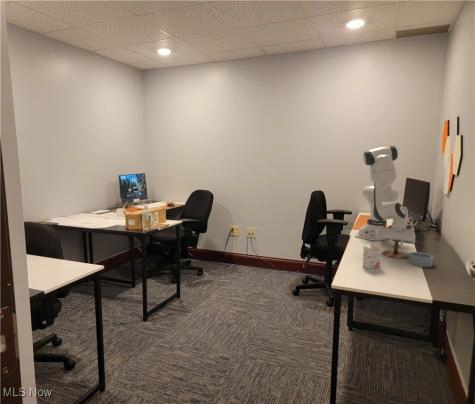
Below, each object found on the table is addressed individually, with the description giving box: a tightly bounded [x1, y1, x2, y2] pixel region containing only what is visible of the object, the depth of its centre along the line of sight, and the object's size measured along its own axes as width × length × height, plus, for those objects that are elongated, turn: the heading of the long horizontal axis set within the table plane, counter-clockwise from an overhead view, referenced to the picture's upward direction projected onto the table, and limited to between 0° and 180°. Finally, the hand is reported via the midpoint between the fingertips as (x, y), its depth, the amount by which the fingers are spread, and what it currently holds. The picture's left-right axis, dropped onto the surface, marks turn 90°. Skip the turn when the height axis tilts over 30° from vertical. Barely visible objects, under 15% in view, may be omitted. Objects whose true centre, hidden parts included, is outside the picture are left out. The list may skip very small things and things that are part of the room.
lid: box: [381, 241, 409, 260], centre depth 213 cm, size 15×15×9 cm
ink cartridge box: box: [362, 240, 382, 269], centre depth 189 cm, size 9×5×15 cm, turn 117°
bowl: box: [408, 251, 434, 268], centre depth 197 cm, size 12×12×5 cm
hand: (396, 247), depth 212 cm, fingers closed on lid, 2 cm apart
